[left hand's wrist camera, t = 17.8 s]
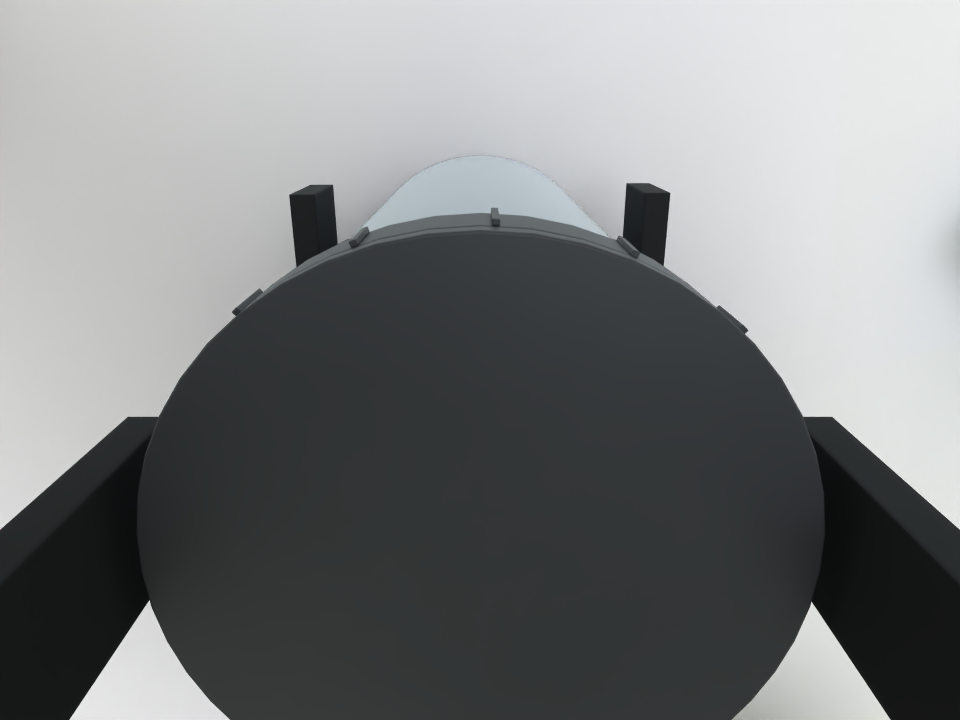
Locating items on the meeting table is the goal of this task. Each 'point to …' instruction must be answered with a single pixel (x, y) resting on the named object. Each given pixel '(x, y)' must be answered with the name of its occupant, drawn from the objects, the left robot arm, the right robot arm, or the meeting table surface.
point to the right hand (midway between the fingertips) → (479, 188)
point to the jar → (481, 194)
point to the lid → (480, 488)
